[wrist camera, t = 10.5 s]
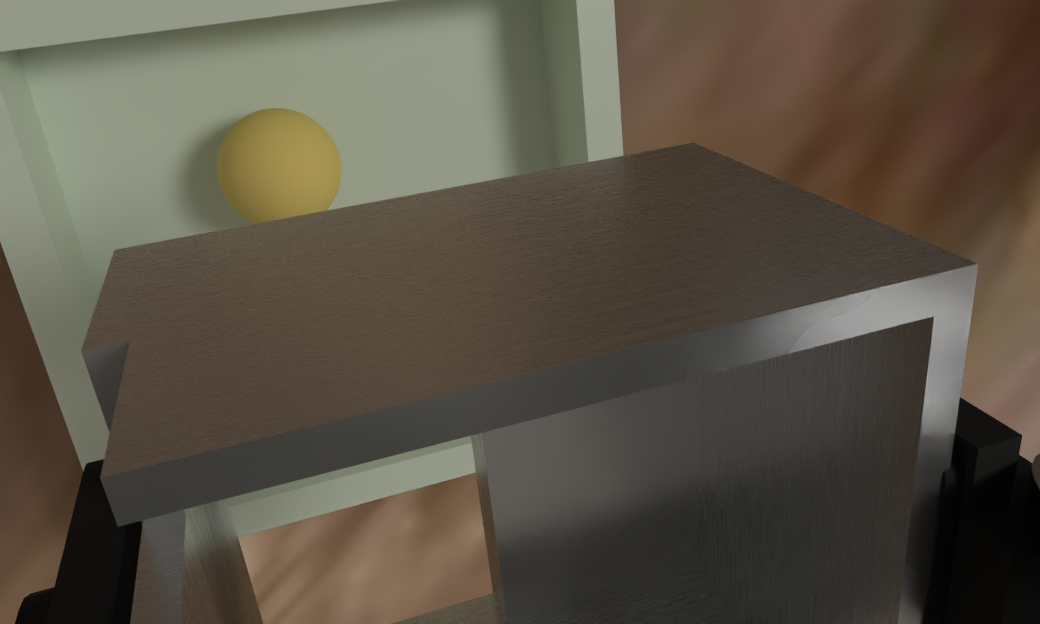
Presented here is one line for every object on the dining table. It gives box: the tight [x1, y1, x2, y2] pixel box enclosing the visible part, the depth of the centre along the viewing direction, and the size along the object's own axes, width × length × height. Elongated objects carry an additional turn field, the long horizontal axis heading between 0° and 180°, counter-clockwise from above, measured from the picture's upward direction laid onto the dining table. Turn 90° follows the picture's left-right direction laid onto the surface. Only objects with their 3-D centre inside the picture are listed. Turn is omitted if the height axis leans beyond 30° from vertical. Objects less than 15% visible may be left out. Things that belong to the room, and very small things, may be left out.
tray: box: [0, 0, 623, 537], centre depth 23 cm, size 14×15×4 cm
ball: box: [217, 108, 341, 224], centre depth 22 cm, size 3×3×3 cm
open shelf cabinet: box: [81, 143, 978, 624], centre depth 10 cm, size 7×7×5 cm
